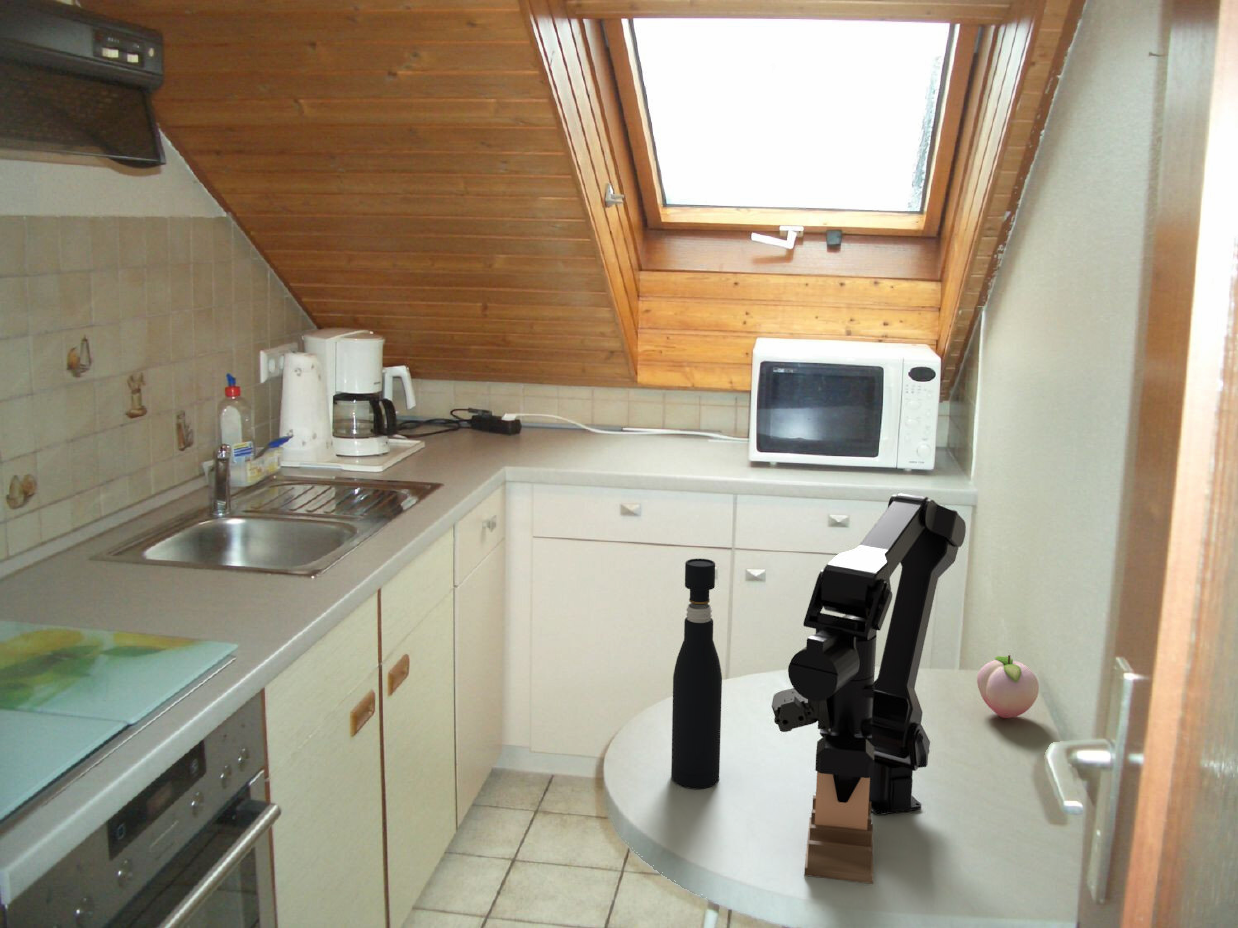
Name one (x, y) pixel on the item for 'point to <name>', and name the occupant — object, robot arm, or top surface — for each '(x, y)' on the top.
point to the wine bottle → (697, 687)
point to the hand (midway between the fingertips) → (842, 796)
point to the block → (841, 804)
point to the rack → (839, 851)
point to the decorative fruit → (1007, 686)
